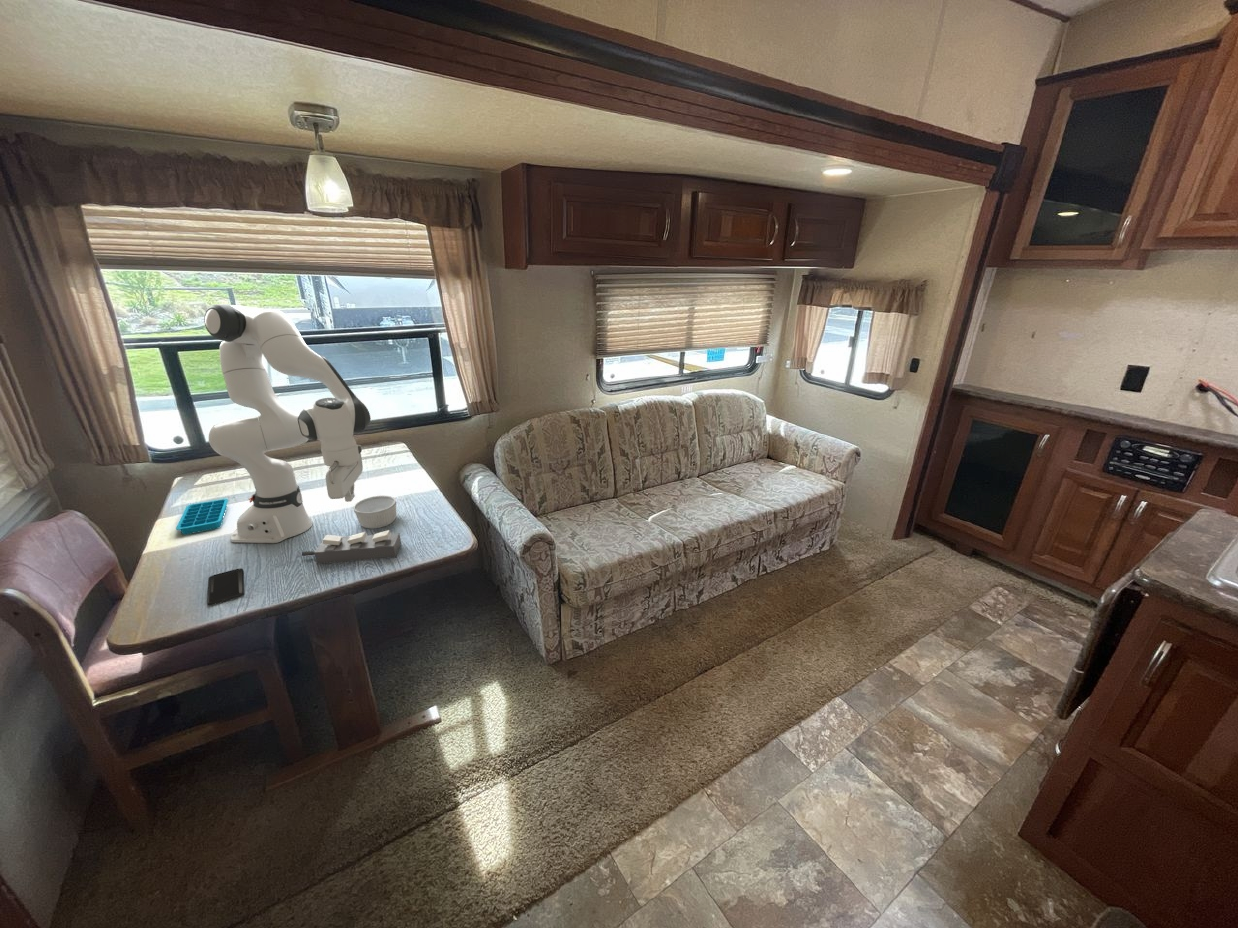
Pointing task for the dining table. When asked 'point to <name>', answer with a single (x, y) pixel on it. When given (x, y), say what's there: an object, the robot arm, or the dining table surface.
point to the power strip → (357, 550)
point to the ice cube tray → (202, 516)
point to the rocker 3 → (381, 536)
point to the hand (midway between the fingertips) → (350, 499)
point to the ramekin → (375, 511)
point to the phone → (225, 586)
